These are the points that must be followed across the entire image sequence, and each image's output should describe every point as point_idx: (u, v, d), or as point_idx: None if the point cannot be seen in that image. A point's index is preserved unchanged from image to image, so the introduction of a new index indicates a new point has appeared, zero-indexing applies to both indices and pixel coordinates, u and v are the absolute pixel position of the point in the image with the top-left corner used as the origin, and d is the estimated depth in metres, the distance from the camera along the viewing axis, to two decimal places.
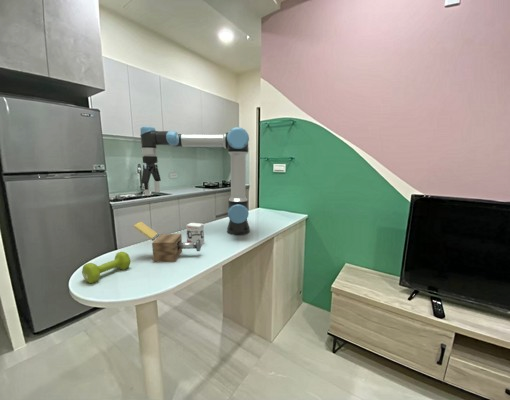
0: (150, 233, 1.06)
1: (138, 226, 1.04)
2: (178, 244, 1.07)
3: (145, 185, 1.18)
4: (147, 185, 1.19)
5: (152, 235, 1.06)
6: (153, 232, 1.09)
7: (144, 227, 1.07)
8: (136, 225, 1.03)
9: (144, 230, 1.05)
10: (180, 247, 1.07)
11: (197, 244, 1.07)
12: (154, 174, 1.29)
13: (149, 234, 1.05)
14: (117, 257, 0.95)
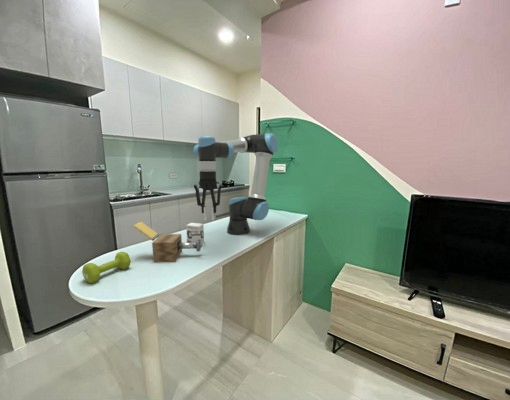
0: (150, 233, 1.06)
1: (138, 226, 1.04)
2: (178, 244, 1.07)
3: None
4: (202, 208, 1.06)
5: (152, 235, 1.06)
6: (153, 232, 1.09)
7: (144, 227, 1.07)
8: (136, 225, 1.03)
9: (144, 230, 1.05)
10: (180, 247, 1.07)
11: (197, 244, 1.07)
12: None
13: (149, 234, 1.05)
14: (117, 257, 0.95)
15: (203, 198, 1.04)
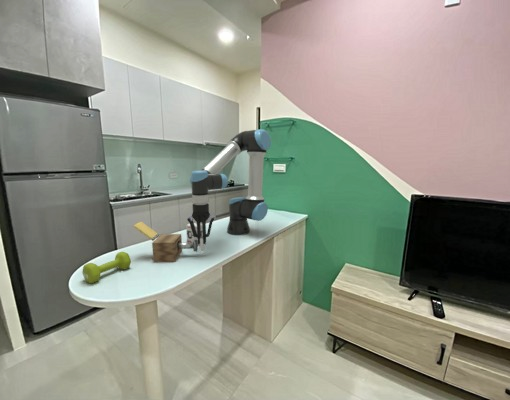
0: (150, 233, 1.06)
1: (138, 226, 1.04)
2: None
3: (198, 239, 1.09)
4: (199, 240, 1.08)
5: (152, 235, 1.06)
6: (153, 232, 1.09)
7: (144, 227, 1.07)
8: (136, 225, 1.03)
9: (144, 230, 1.05)
10: (177, 247, 1.07)
11: (194, 244, 1.07)
12: None
13: (149, 234, 1.05)
14: (117, 257, 0.95)
15: (198, 230, 1.07)
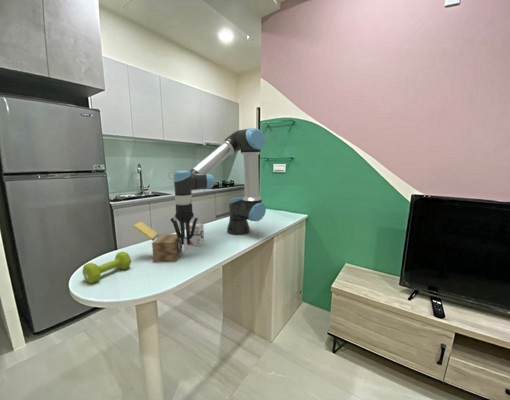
0: (150, 233, 1.06)
1: (138, 226, 1.04)
2: None
3: None
4: (182, 240, 1.07)
5: (152, 235, 1.06)
6: (153, 232, 1.09)
7: (144, 227, 1.07)
8: (136, 225, 1.03)
9: (144, 230, 1.05)
10: None
11: (178, 244, 1.06)
12: None
13: (149, 234, 1.05)
14: (117, 257, 0.95)
15: (182, 230, 1.06)
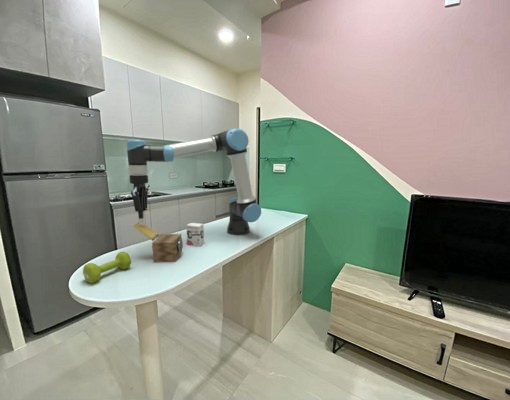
0: (150, 233, 1.06)
1: (138, 226, 1.04)
2: None
3: (139, 214, 1.03)
4: (142, 213, 1.03)
5: (152, 235, 1.06)
6: (153, 232, 1.09)
7: (144, 227, 1.07)
8: (136, 225, 1.03)
9: (144, 230, 1.05)
10: None
11: (178, 244, 1.06)
12: None
13: (149, 234, 1.05)
14: (118, 257, 0.95)
15: (142, 203, 1.03)
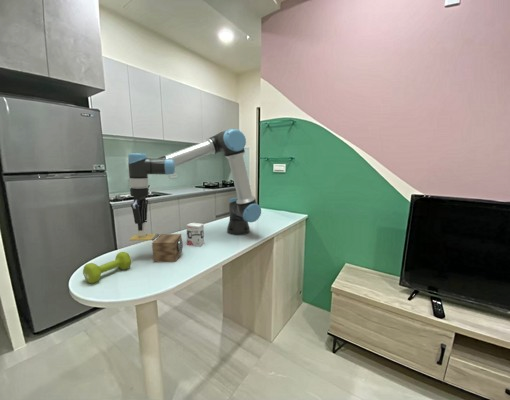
0: (148, 237, 1.06)
1: (134, 238, 1.05)
2: None
3: (139, 226, 1.04)
4: (141, 225, 1.04)
5: (151, 237, 1.06)
6: (152, 235, 1.09)
7: None
8: (132, 238, 1.04)
9: (141, 237, 1.05)
10: None
11: (178, 244, 1.06)
12: None
13: (147, 237, 1.05)
14: (118, 257, 0.95)
15: (142, 215, 1.04)
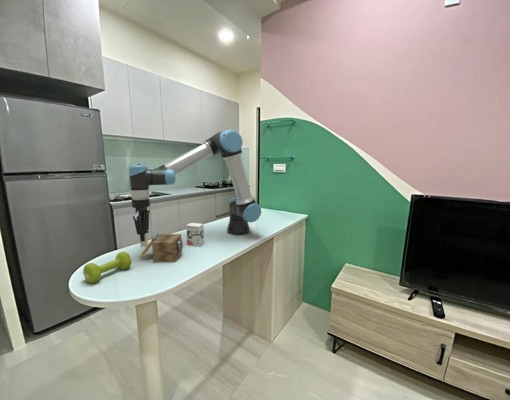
0: None
1: None
2: None
3: (141, 236, 1.05)
4: (143, 236, 1.05)
5: None
6: None
7: (147, 247, 1.08)
8: (141, 254, 1.06)
9: (146, 247, 1.06)
10: None
11: (178, 244, 1.06)
12: None
13: (150, 242, 1.05)
14: (118, 257, 0.95)
15: (144, 226, 1.04)
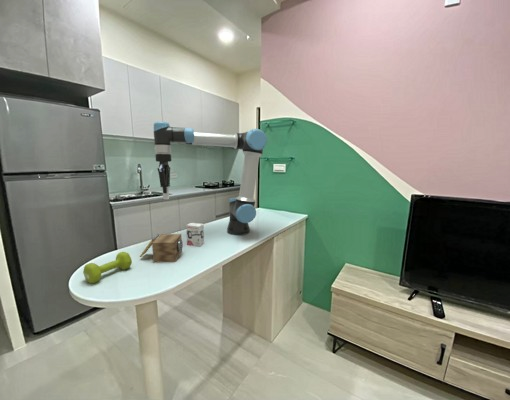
0: None
1: None
2: None
3: (164, 189, 1.15)
4: (166, 189, 1.16)
5: None
6: None
7: (147, 247, 1.08)
8: (141, 254, 1.06)
9: (146, 247, 1.06)
10: None
11: (178, 244, 1.06)
12: None
13: (150, 242, 1.05)
14: (118, 257, 0.95)
15: (166, 179, 1.15)
